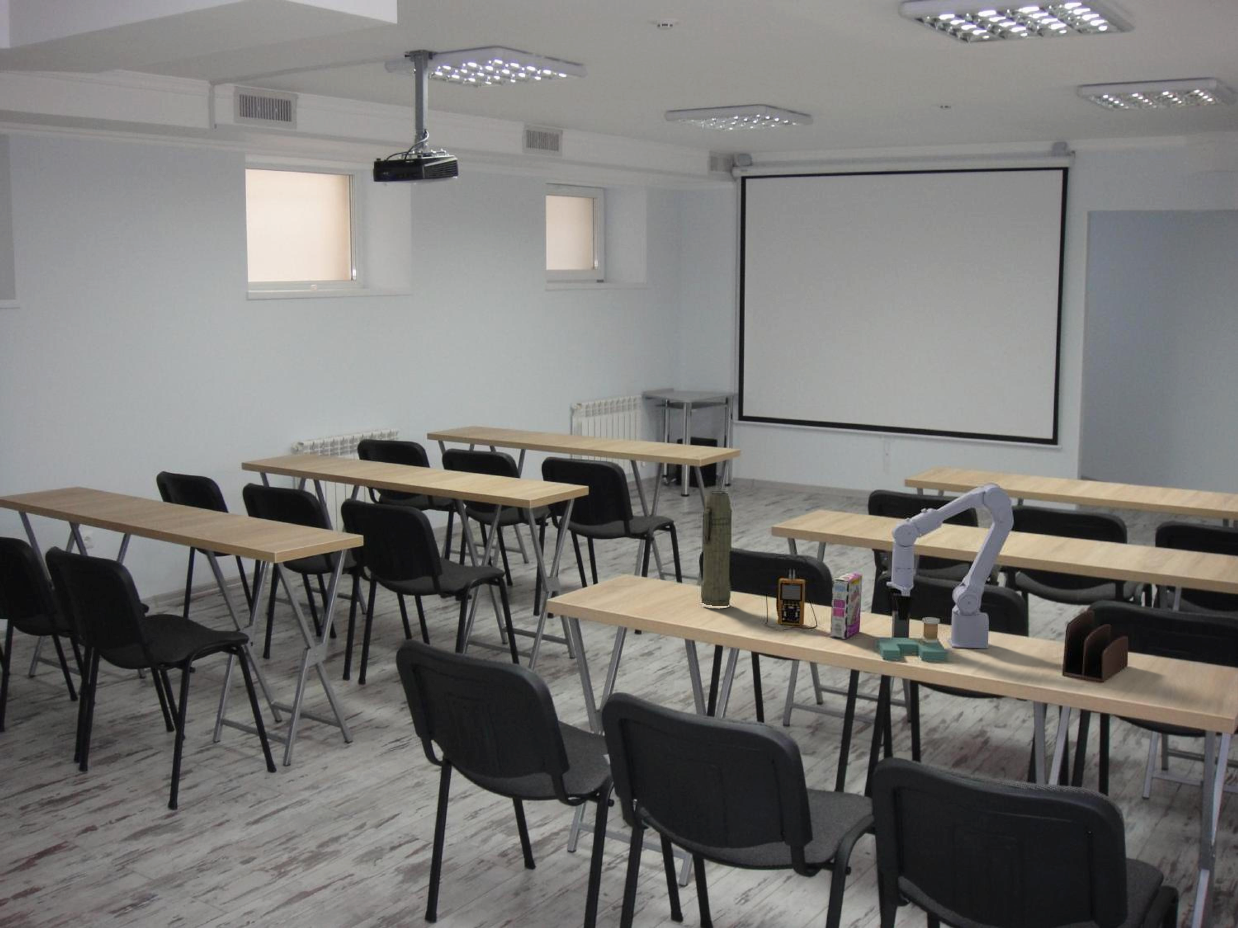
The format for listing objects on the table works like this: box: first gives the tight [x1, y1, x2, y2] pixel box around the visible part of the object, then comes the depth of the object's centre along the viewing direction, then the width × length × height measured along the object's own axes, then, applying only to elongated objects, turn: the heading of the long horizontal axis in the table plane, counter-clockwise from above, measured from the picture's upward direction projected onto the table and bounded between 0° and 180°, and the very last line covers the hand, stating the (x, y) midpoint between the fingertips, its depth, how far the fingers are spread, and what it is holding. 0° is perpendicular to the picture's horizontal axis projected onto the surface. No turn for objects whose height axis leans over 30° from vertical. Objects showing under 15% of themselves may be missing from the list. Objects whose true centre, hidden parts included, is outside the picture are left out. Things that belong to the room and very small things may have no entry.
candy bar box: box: [829, 572, 863, 640], centre depth 336 cm, size 11×5×16 cm, turn 149°
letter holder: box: [1061, 610, 1129, 684], centre depth 303 cm, size 10×20×14 cm, turn 141°
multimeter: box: [764, 555, 818, 631], centre depth 342 cm, size 15×10×20 cm
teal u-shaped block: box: [876, 616, 948, 662], centre depth 317 cm, size 16×13×8 cm
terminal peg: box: [891, 610, 911, 638], centre depth 329 cm, size 4×4×8 cm
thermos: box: [700, 490, 733, 606], centre depth 367 cm, size 9×12×35 cm
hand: (900, 616), depth 329 cm, fingers open, 7 cm apart
